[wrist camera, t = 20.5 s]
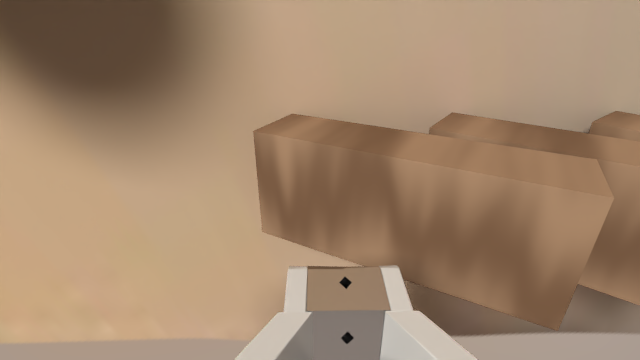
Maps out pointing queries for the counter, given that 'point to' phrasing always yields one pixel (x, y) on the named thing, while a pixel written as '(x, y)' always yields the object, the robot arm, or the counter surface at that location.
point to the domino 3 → (618, 126)
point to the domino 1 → (436, 209)
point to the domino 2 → (619, 171)
